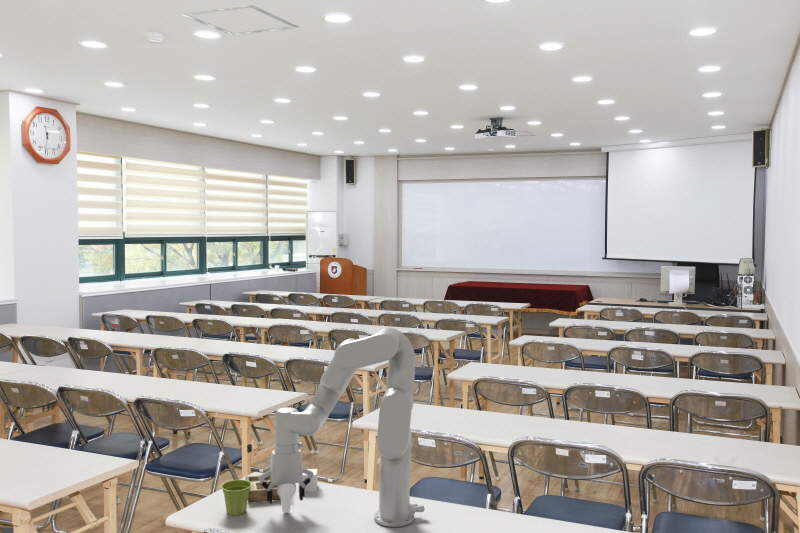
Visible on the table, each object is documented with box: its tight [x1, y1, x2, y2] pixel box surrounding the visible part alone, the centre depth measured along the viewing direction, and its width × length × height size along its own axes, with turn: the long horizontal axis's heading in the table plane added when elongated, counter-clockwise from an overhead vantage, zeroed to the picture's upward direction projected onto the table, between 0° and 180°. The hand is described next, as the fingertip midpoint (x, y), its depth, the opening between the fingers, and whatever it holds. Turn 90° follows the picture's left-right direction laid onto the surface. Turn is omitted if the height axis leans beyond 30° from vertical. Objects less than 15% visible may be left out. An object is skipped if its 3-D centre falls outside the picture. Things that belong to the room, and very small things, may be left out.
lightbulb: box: [277, 483, 297, 514], centre depth 215 cm, size 6×6×11 cm
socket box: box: [244, 474, 281, 504], centre depth 231 cm, size 14×14×4 cm
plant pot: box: [220, 479, 252, 516], centre depth 216 cm, size 9×9×9 cm
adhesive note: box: [298, 468, 318, 493], centre depth 236 cm, size 6×6×6 cm
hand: (285, 500), depth 215 cm, fingers open, 9 cm apart
